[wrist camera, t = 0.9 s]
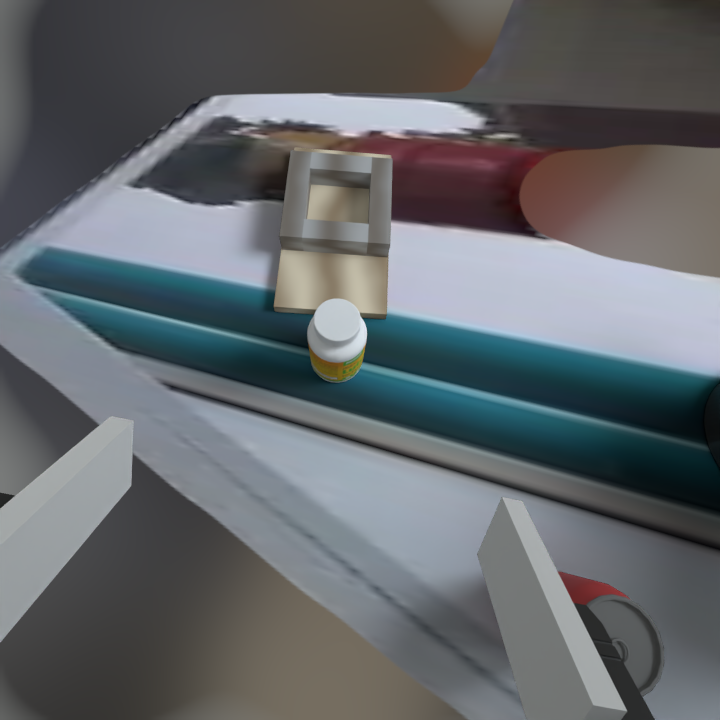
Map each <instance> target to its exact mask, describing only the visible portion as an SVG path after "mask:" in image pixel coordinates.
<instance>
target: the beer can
mask: <svg viewBox="0 0 720 720" xmlns="http://www.w3.org/2000/svg"><path fill="white" fill-rule="evenodd" d="M557 572H558V574H559V576H560V578H561V580H562V582H563V584H564V586H565V588H566V590H567V592H568V594H569V596H570V598H571V600H572V602H573V603H578V604H583V605H587V606H588V608H589V609H590V610H591V611H592V612H593V613H594V614H595V616H596V617H597V618H598V619H599V620H600V621H601V622H602V624H603V626H604V628H605V629H606V631H607V633H608V635H609V637H610V639H611V640H612V645H613V646H615V648H616V650H617V651H618V653H619V655H620V657H621V662H624V664H625V666H626V668H627V670H628V672H629V674H630V675H631V677H632V679H633V681H634V683H635V685H636V686H637V688H638V690H639V692H640V694H641V696H644V695H646V694H647V693H649V692H650V691H652V690H653V688H654V687H655V685H656V684H657V683H658V681H659V680H660V677H661V674H662V670H663V666H664V647H663V644H662V640H661V637H660V633H659V631H658V629H657V627H656V625H655V624H654V622H653V620H652V618H651V617H650V616H649V615H648V614H647V613H646V611H645V610H644V609H643V608H642V607H641V606H640V605H638V604H637V603H635V602H633V601H632V600H630V599H629V597H628V596H626V595H625V594H623V593H622V592H620V591H618V590H617V589H615V588H613V587H612V586H610V585H608V584H605V583H602V582H598V581H594V580H590V579H586V578H582V577H579V576H575V575H571V574H567V573H563V572H559V571H557Z"/></svg>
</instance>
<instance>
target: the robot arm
mask: <svg viewBox="0 0 720 720" xmlns="http://www.w3.org/2000/svg"><path fill="white" fill-rule="evenodd" d="M133 423H134V421H133V420H128V419H123V418H118V417H113V416H110V417H109V418H108V419H107V420H105V421H104V422H103V423H102V424H101V425H100V426H98V427H97V428H96V429H95V430H94V431H92V432H91V433H90V434H89V435H88V436H87V437H85V438H84V439H83V440H82V441H81V442H80V443H78V444H77V445H76V446H74V447H73V448H72V449H71V450H70V451H68V452H67V453H66V454H65V455H64V456H62V457H61V458H60V459H59V460H58V461H57V462H55V463H54V464H53V465H52V466H51V467H49V468H48V469H47V470H46V471H45V472H43V473H42V474H41V475H40V476H39V477H37V478H36V479H35V480H34V481H33V482H32V483H30V484H29V485H28V486H27V487H26V488H24V489H23V490H22V491H21V492H20V493H18V494H17V495H16V496H14V495H9V494H4V493H0V642H1V641H2V640H3V638H4V637H5V636H6V635H7V634H8V632H9V631H10V630H11V629H12V628H13V627H14V625H15V624H16V623H17V622H18V621H19V619H20V618H21V617H22V616H23V615H24V613H25V612H26V611H27V610H28V609H29V607H30V606H31V605H32V604H33V603H34V601H35V600H36V599H37V598H38V597H39V595H40V594H41V593H42V592H43V591H44V590H45V588H46V587H47V586H48V584H49V583H50V582H51V581H52V580H53V578H54V577H55V576H56V575H57V574H58V573H59V571H60V570H61V569H62V568H63V567H64V566H65V564H66V563H67V562H68V561H69V560H70V558H71V557H72V556H73V555H74V553H75V552H76V551H77V550H78V548H79V547H80V546H81V545H82V544H83V543H84V541H85V540H86V539H87V538H88V537H89V536H90V534H91V533H92V532H93V531H94V529H95V528H96V527H97V526H98V524H100V522H101V521H102V520H103V519H104V518H105V516H106V515H107V514H108V513H109V512H110V510H111V509H112V508H113V507H114V506H115V504H116V503H117V502H118V501H119V500H120V498H121V497H122V496H123V495H124V494H125V492H126V491H127V490H128V489H129V488H130V486H131V477H132V450H133ZM704 426H705V433H706V438H707V441H708V445H709V448H710V450H711V452H712V455H713V457H714V459H715V461H716V462H717V464H718V466H719V467H720V383H719V384H718V385H717V386H716V387H715V388H714V390H713V391H712V393H711V394H710V396H709V398H708V401H707V404H706V408H705V415H704ZM477 555H478V558H479V562H480V565H481V568H482V572H483V575H484V579H485V582H486V585H487V589H488V592H489V595H490V599H491V602H492V605H493V609H494V612H495V615H496V619H497V622H498V625H499V629H500V632H501V635H502V639H503V642H504V646H505V649H506V652H507V656H508V659H509V662H510V666H511V669H512V672H513V676H514V679H515V682H516V686H517V689H518V692H519V696H520V699H521V702H522V706H523V709H524V713H525V716H526V719H527V720H655V719H654V718H653V716H652V714H651V712H650V710H649V708H648V707H647V705H646V703H645V701H644V699H643V697H642V696H641V694H640V692H639V690H638V688H637V686H636V685H635V683H634V681H633V679H632V677H631V675H630V674H629V672H628V670H627V668H626V666H625V664H624V662H621V657H620V655H619V653H618V651H617V650H616V648H615V646H613V645H612V640H611V639H610V637H609V635H608V633H607V631H606V629H605V628H604V626H603V624H602V622H601V621H600V620H599V619H598V618H597V617H596V616H595V614H594V613H593V612H592V611H591V610H590V609H589V608H588V606H587V605H583V604H578V603H573V602H572V600H571V598H570V596H569V594H568V592H567V590H566V588H565V586H564V584H563V582H562V580H561V578H560V576H559V574H558V572H557V570H556V568H555V566H554V564H553V562H552V560H551V558H550V556H549V554H548V552H547V550H546V548H545V546H544V543H543V541H542V539H541V537H540V535H539V533H538V531H537V529H536V527H535V525H534V523H533V521H532V519H531V517H530V515H529V513H528V511H527V509H526V507H525V505H524V503H523V501H519V500H514V499H510V498H505V497H502V498H501V500H500V503H499V505H498V507H497V510H496V512H495V514H494V517H493V519H492V521H491V524H490V526H489V528H488V530H487V533H486V535H485V537H484V540H483V542H482V544H481V547H480V549H479V551H478V554H477Z"/></svg>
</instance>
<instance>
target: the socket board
mask: <svg viewBox="0 0 720 720" xmlns="http://www.w3.org/2000/svg"><path fill="white" fill-rule="evenodd" d="M391 196H392V159H391V155H380V154H368V153H356V152H344V151H332V150H320V149H308V148H296V147H295V148H294V151H293V150H291V153H290V161H289V168H288V175H287V183H286V190H285V198H284V205H283V212H282V220H281V227H280V235H279V237H280V242H281V255H280V262H279V270H278V278H277V285H276V293H275V300H274V309H275V312H287V313H302V314H315V311H316V309H317V308H318V307H319V306H320V305H321V304H322V303H323V302H325V301H327V300H330V299H337V298H338V299H344V300H347V301H349V302H351V303H352V304H353V305H354V306H355V307H356V308H357V309H358V311H359V313H360V316H361V318H375V319H386V315H387V287H388V252H389V248H390V233H391Z"/></svg>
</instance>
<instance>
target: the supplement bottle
mask: <svg viewBox="0 0 720 720" xmlns="http://www.w3.org/2000/svg"><path fill="white" fill-rule="evenodd" d="M307 337H308V345H309V351H310V358H311V363H312V367H313V369H314V371H315V372H316V373H317V374H318V375H319V376H320V377H321V378H322V379H324V380H326V381H329V382H335V383H339V382H344V381H347V380H349V379H351V378H352V377H354V376H355V375H356V374H357V372H358V371H359V369H360V367H361V365H362V361H363V356H364V351H365V345H366V340H367V329H366V325H365V323H364V321H363V319H362V318H361V316H360V313H359V311H358V309H357V308H356V307H355V306H354V305H353V304H352V303H351V302H349V301H347V300H344V299H338V298H337V299H330V300H327V301H325V302H323V303H322V304H321V305H320V306H319V307H318V308H317V309H316V311H315V314H314V317H313V318H312V319H311V321H310V323H309V326H308V332H307Z"/></svg>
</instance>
